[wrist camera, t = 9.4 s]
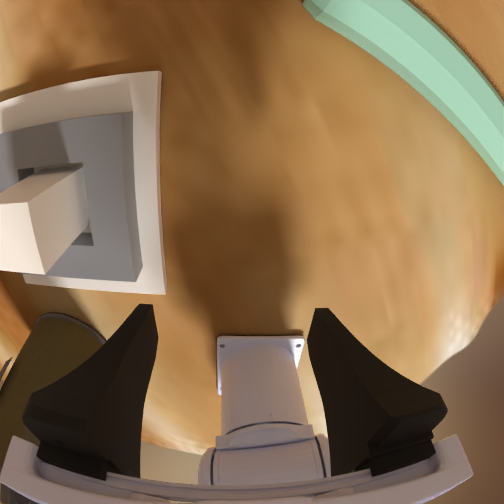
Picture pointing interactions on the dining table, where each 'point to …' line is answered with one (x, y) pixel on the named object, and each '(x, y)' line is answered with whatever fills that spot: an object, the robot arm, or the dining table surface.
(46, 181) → the block
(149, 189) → the plate
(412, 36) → the container
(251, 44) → the dining table surface
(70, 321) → the canister
